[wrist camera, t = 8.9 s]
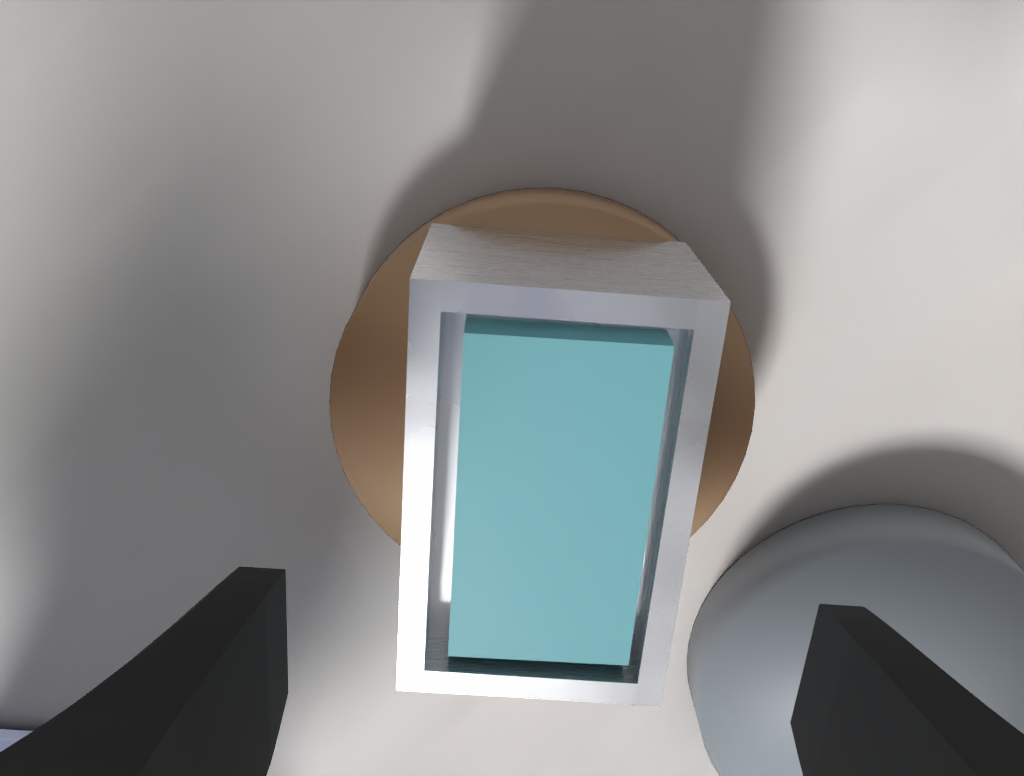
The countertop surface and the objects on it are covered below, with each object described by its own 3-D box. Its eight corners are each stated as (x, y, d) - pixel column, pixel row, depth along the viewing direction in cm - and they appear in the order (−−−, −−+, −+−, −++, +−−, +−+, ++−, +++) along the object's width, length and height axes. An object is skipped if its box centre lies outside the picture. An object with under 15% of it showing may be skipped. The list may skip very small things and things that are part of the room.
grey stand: (980, 792, 26) (1012, 846, 24) (665, 774, 25) (675, 827, 24) (1080, 516, 22) (1126, 557, 20) (715, 492, 22) (732, 531, 20)
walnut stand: (703, 562, 23) (717, 605, 21) (343, 539, 22) (330, 581, 21) (767, 204, 19) (791, 221, 18) (344, 172, 19) (328, 187, 17)
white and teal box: (634, 583, 21) (660, 706, 17) (417, 569, 21) (396, 690, 17) (685, 242, 18) (730, 301, 14) (431, 223, 18) (409, 277, 14)
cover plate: (623, 638, 18) (628, 665, 17) (450, 629, 18) (447, 656, 17) (666, 330, 15) (674, 345, 15) (465, 317, 15) (463, 333, 14)
